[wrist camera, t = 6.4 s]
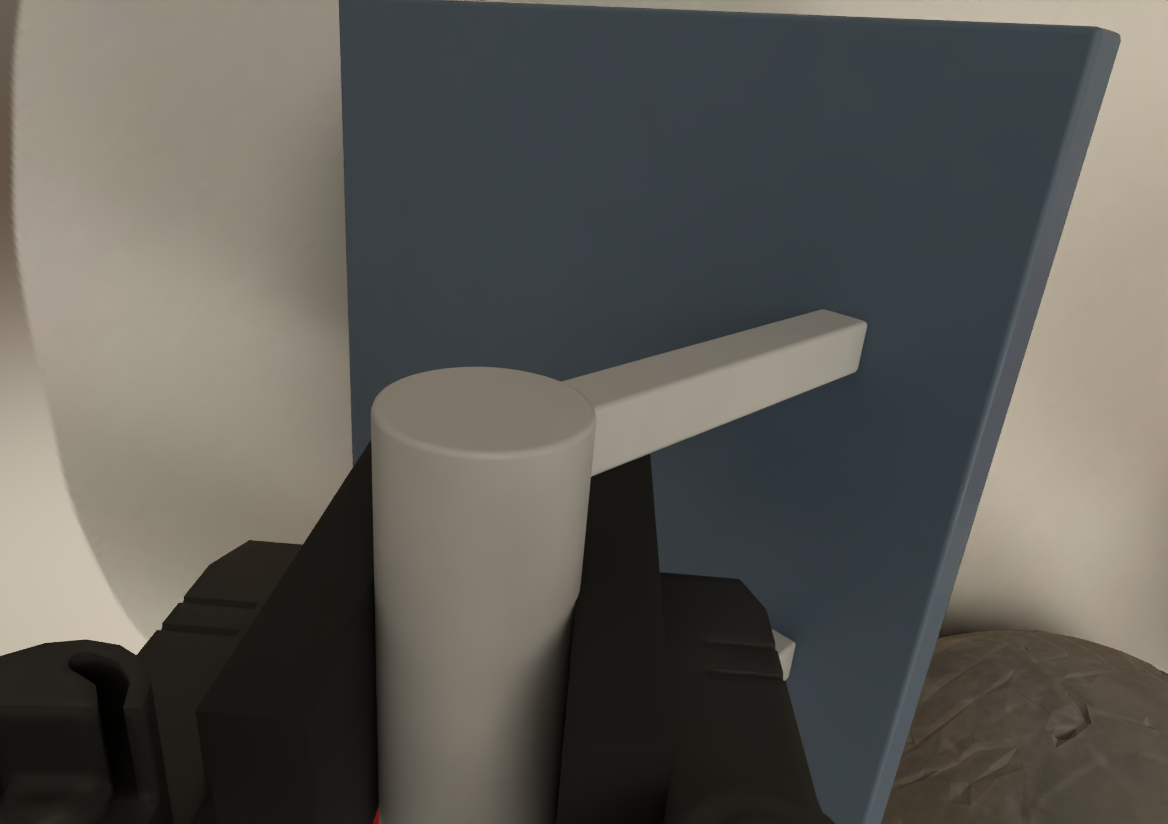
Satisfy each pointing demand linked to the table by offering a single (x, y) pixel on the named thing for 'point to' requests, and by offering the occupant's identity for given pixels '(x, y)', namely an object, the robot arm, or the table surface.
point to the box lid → (684, 346)
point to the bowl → (1034, 735)
